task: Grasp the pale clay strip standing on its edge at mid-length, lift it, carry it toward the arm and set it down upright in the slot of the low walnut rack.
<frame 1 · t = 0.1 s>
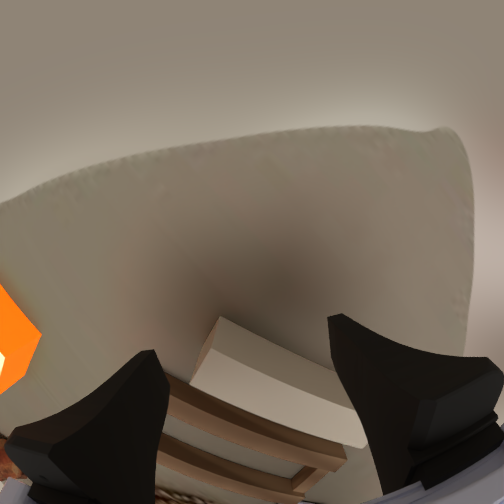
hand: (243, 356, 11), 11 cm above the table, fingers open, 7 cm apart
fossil: (15, 452, 25), on the table
orange juice: (8, 327, 22), on the table
rack: (231, 444, 24), on the table
strip: (288, 368, 23), on the table
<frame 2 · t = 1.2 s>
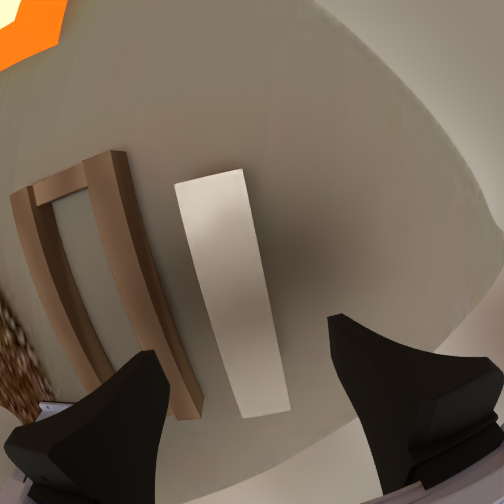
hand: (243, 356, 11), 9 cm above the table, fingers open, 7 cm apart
orange juice: (34, 19, 13), on the table
rack: (110, 304, 20), on the table
strip: (241, 277, 20), on the table
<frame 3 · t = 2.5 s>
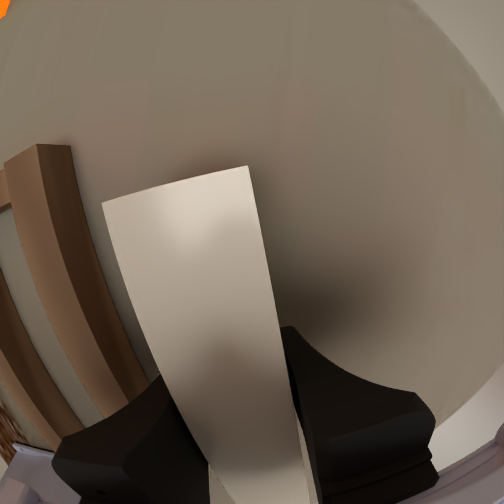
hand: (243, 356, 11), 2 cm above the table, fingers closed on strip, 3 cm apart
rack: (67, 356, 13), on the table
strip: (242, 333, 13), on the table, touching gripper
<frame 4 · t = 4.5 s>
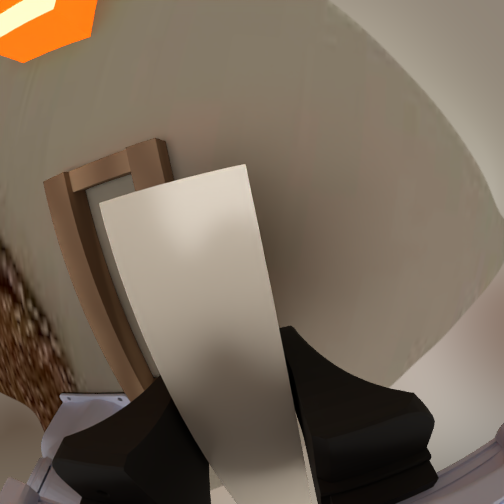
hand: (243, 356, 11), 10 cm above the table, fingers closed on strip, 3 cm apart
orange juice: (62, 12, 14), on the table
rack: (144, 289, 21), on the table
strip: (243, 333, 13), point 9 cm above the table, touching gripper
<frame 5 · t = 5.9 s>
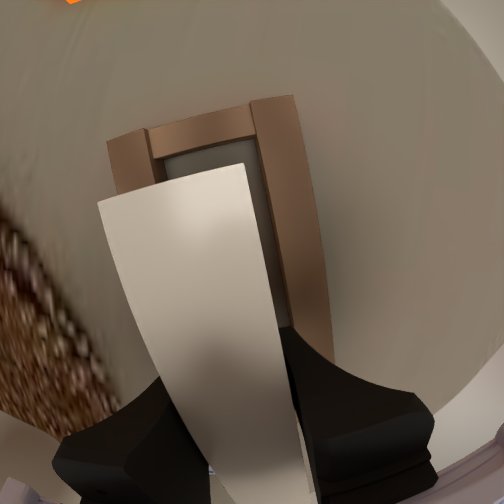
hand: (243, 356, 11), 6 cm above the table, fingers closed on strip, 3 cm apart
rack: (241, 295, 17), on the table
strip: (242, 333, 13), point 4 cm above the table, touching gripper
when the fingers open (3 cm above the table, at t = 6.8 s): strip drops 1 cm, resting in rack.
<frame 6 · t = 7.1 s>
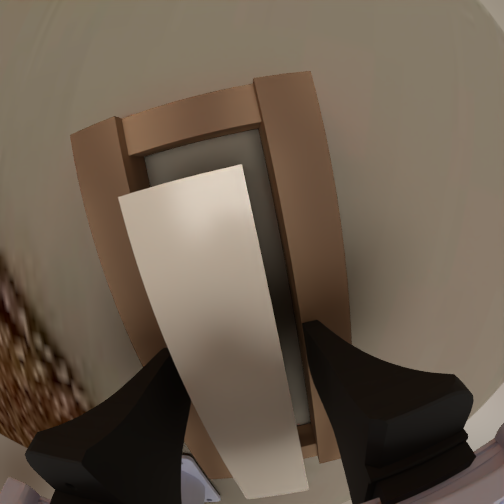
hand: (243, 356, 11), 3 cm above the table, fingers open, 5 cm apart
rack: (242, 323, 14), on the table
strip: (242, 320, 14), resting in rack
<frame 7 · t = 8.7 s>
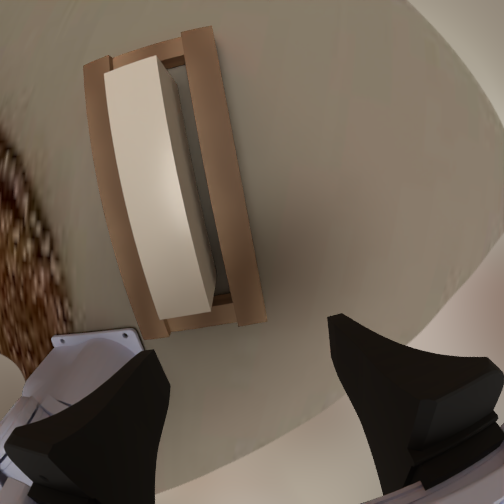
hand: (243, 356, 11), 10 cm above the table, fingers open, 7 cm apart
rack: (174, 184, 19), on the table
strip: (174, 183, 20), resting in rack
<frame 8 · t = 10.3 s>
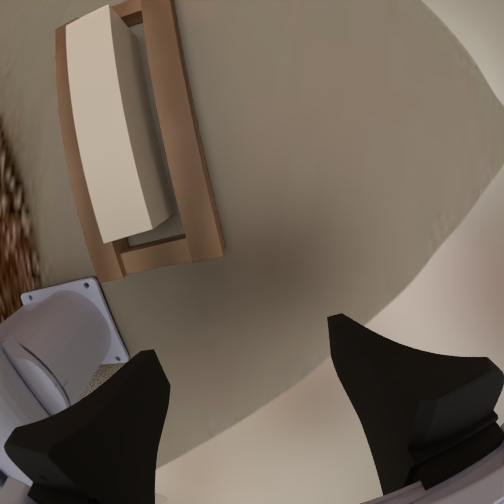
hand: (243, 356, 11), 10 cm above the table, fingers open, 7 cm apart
rack: (132, 125, 18), on the table
strip: (133, 124, 18), resting in rack
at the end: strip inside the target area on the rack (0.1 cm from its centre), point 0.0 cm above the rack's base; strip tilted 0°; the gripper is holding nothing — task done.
